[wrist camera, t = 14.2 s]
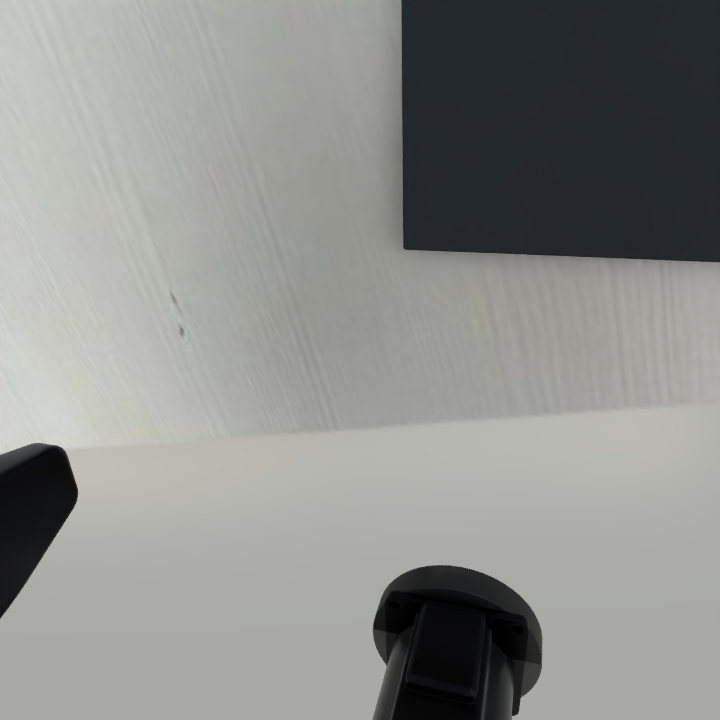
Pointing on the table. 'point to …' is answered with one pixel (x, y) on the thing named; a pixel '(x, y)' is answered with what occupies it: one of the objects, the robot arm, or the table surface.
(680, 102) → the pad
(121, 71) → the table surface
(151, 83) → the table surface
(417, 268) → the table surface
